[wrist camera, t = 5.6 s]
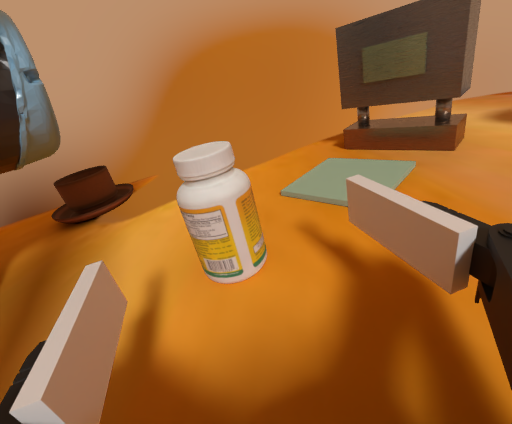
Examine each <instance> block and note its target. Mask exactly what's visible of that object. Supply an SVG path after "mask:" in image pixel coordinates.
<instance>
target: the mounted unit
mask: <svg viewBox="0 0 512 424" xmlns="http://www.w3.org/2000/svg"><path fill="white" fill-rule="evenodd" d="M480 5H481V0H420V1H417V2H414V3H411V4H408V5H405V6H402V7H399V8H396V9H393V10H390V11H387V12H384V13H381V14H377V15H375V16H372V17H368V18H365V19H362V20H359V21H356V22H354V23H350V24H347V25H344V26H341V27H338V28H336V40H337V53H338V66H339V78H340V92H341V105H342V109H347V108H356V107H357V111H358V121H357V122H356V123H354V124H352V125H350V126H349V127H347V128H346V129H344V130H343V131H344V144H345V149H379V150H455V149H456V147H457V146H458V145H459V143H460V142H461V141H462V139H463V138H464V133H465V125H466V117H467V114H454V115H451V108H452V98H457V97H461V96H462V95H463V94H464V93H465V92H466V91H467V90H468V89H470V84H471V77H472V69H473V61H474V53H475V44H476V37H477V29H478V21H479V13H480ZM426 100H436V111H435V116H423V117H408V118H392V119H378V120H369V106H377V105H386V104H395V103H407V102H417V101H426Z"/></svg>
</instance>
